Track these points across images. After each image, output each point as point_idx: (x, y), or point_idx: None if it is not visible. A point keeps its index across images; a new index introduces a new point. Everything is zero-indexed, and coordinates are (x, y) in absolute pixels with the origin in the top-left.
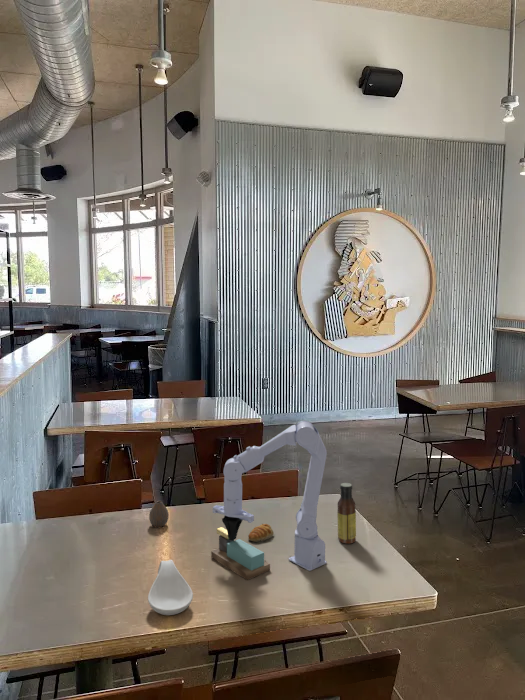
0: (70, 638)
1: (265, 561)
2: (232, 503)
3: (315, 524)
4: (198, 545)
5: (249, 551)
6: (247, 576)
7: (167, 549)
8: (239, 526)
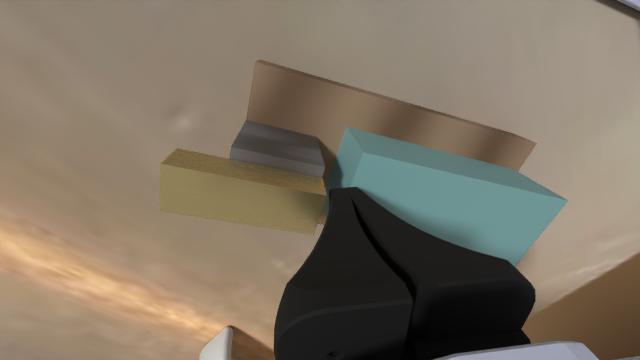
0: None
1: (511, 137)
2: None
3: None
4: (80, 142)
5: (486, 233)
6: None
7: (29, 249)
8: (415, 228)
